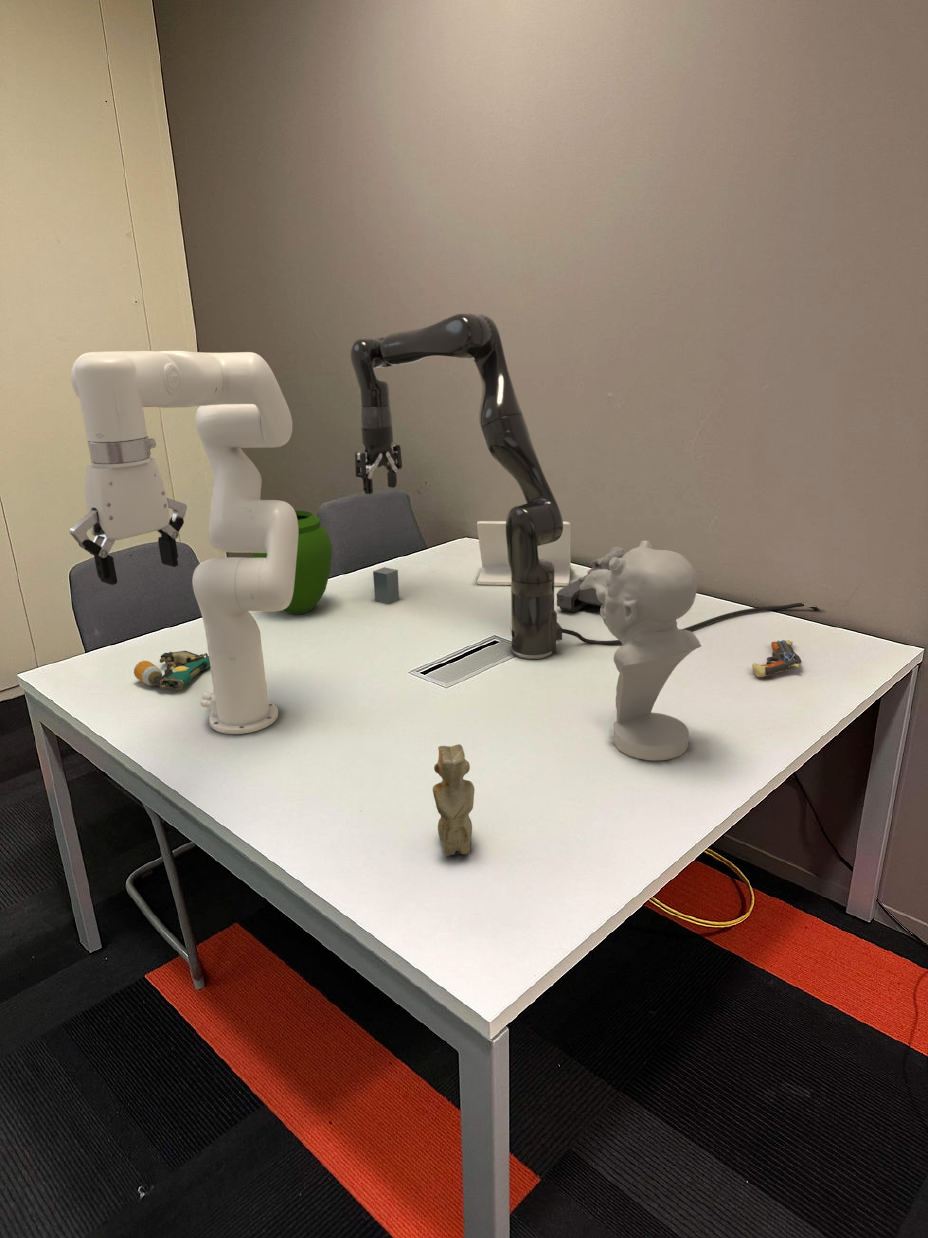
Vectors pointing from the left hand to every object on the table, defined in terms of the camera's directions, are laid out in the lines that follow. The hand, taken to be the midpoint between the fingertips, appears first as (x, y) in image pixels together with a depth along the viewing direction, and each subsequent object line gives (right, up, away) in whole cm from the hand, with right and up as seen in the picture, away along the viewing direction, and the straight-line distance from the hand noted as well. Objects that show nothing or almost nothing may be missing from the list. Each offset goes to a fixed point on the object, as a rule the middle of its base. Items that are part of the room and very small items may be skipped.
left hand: (140, 573), depth 121 cm
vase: (+4, -4, +97) cm, 97 cm away
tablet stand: (+63, +6, +118) cm, 134 cm away
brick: (+26, -1, +102) cm, 105 cm away
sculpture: (+45, -39, +1) cm, 59 cm away
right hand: (+25, +26, +92) cm, 99 cm away
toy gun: (+111, -16, +58) cm, 126 cm away
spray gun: (-15, -19, +60) cm, 65 cm away
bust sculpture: (+75, -27, +30) cm, 85 cm away
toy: (+84, -3, +94) cm, 126 cm away
